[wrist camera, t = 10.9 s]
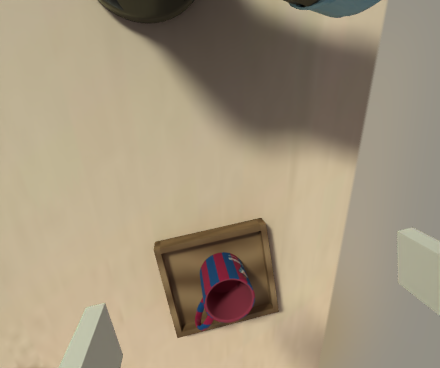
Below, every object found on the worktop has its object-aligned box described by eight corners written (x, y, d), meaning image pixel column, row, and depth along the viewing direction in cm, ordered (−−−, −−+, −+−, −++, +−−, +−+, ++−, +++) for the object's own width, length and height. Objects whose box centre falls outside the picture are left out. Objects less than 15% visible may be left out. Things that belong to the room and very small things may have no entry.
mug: (252, 269, 44) (265, 297, 38) (207, 313, 45) (212, 348, 38) (221, 243, 42) (229, 267, 36) (175, 289, 43) (174, 322, 37)
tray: (155, 242, 42) (153, 250, 39) (261, 217, 43) (266, 224, 41) (177, 326, 46) (177, 337, 44) (273, 301, 47) (278, 311, 45)
